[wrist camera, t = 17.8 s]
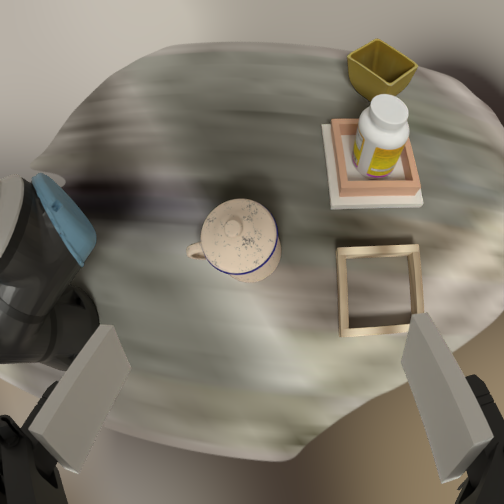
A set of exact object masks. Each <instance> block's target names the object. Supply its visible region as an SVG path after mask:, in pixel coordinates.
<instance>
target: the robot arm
mask: <svg viewBox="0 0 504 504" xmlns="http://www.w3.org/2000/svg"><path fill="white" fill-rule="evenodd" d="M95 244H96V233H95V230H94V228H93V226H92V224H91V223H90V221H89V220H88V219H87V217H86V216H85V215H84V213H83V212H82V211H81V210H80V208H79V207H78V206H77V205H76V204H75V203H74V201H73V200H72V199H71V198H70V197H69V196H68V195H67V194H66V193H65V192H64V190H63V189H62V188H61V187H60V186H58V185H57V184H56V183H55V182H54V181H53V180H52V179H51V178H50V177H48V176H47V175H44V174H43V173H38V174H37V175H36V176H34V177H32V181H31V183H30V182H28V181H26V180H25V179H23V178H21V177H20V176H18V175H17V174H14V175H10V176H8V177H6V178H3V179H0V364H14V363H36V362H40V363H42V364H45V365H47V366H50V367H53V368H55V369H58V370H62V371H66V372H65V374H64V375H63V377H62V378H61V380H60V381H56V382H54V383H53V384H52V385H51V386H49V387H48V388H47V390H46V391H45V393H44V394H43V396H42V398H40V400H39V402H38V405H36V406H35V407H34V409H33V411H32V412H31V413H30V415H29V417H28V418H27V420H26V421H25V423H24V424H23V426H22V427H21V428H19V426H18V425H17V424H16V423H15V422H14V420H13V419H12V418H11V417H10V416H8V415H1V416H0V504H68V502H67V498H66V495H65V492H64V489H63V485H62V481H61V478H60V474H59V471H58V469H57V467H56V464H57V462H59V463H60V464H61V465H62V466H63V467H64V468H65V469H67V470H69V471H72V472H74V473H77V474H80V471H81V469H82V467H83V465H84V463H85V460H86V458H87V456H88V454H89V452H90V450H91V448H92V446H93V444H94V441H95V439H96V437H97V435H98V433H99V431H100V429H101V427H102V425H103V423H104V421H105V419H106V417H107V415H108V413H109V411H110V409H111V407H112V405H113V403H114V401H115V399H116V397H117V395H118V393H119V391H120V389H121V387H122V385H123V384H124V382H125V380H126V378H127V376H128V374H129V372H130V370H131V366H130V364H129V362H128V360H127V357H126V355H125V353H124V350H123V348H122V346H121V343H120V341H119V338H118V336H117V333H116V331H115V328H114V326H113V325H100V326H99V320H98V315H97V312H96V309H95V306H94V304H93V302H92V301H91V299H90V297H89V296H88V295H87V294H86V293H85V292H84V291H83V290H82V289H80V288H78V287H76V286H72V285H69V283H70V282H71V280H72V279H73V278H74V276H75V275H76V274H77V272H78V271H79V270H80V268H81V267H83V266H84V262H85V260H86V259H87V257H88V256H89V254H90V253H91V251H92V250H93V248H94V247H95ZM401 364H402V366H403V369H404V371H405V374H406V377H407V379H408V382H409V385H410V387H411V390H412V393H413V395H414V398H415V401H416V404H417V407H418V409H419V413H420V415H421V418H422V421H423V424H424V427H425V430H426V434H427V437H428V440H429V443H430V446H431V450H432V453H433V456H434V460H435V463H436V466H437V470H438V474H439V478H440V481H441V484H442V483H445V482H448V481H451V480H454V479H457V478H459V477H460V476H461V475H462V474H463V473H464V472H465V471H467V474H468V478H467V479H466V480H465V481H464V482H463V483H462V484H461V485H460V486H459V488H458V489H457V490H460V489H461V488H462V487H463V488H462V490H461V492H460V494H459V496H458V498H457V500H456V502H455V504H504V419H503V417H502V415H501V413H500V412H499V409H498V407H497V405H496V403H494V400H493V398H492V396H491V395H490V392H489V390H488V389H487V387H486V385H485V383H484V382H483V381H482V380H481V379H480V378H479V377H477V376H476V375H470V376H467V377H465V376H464V374H463V372H462V371H461V369H460V367H459V365H458V363H457V362H456V360H455V358H454V356H453V355H452V353H451V351H450V349H449V347H448V346H447V344H446V342H445V340H444V339H443V337H442V335H441V334H440V332H439V330H438V329H437V327H436V325H435V324H434V322H433V321H432V319H431V317H430V316H429V314H428V313H420V314H412V316H411V321H410V326H409V330H408V335H407V339H406V344H405V348H404V352H403V356H402V360H401Z"/></svg>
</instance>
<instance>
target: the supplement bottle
mask: <svg viewBox="0 0 504 504" xmlns="http://www.w3.org/2000/svg"><path fill="white" fill-rule="evenodd" d="M407 119H408V109H407V107H406V105H405V104H404V103H403V101H401V100H400V99H399V98H397V97H395V96H392V95H389V94H380V95H377V96H375V97H374V98H373V99H372V101H371V104H370V106H369V107H367V108H366V109H365V110H364V111H363V112H362V113H361V115H360V118H359V122H358V128H357V133H356V137H355V142H354V147H353V152H352V161H353V164H354V166H355V168H356V170H357V171H358V172H359V173H360V174H362V175H363V176H365V177H367V178H370V179H375V180H378V179H383V178H385V177H387V176H389V175H390V174H391V173H392V171H393V169H394V167H395V165H396V163H397V161H398V159H399V157H400V155H401V152H402V150H403V148H404V146H405V144H406V142H407V139H408V136H409V125H408V123H407Z"/></svg>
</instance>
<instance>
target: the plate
mask: <svg viewBox="0 0 504 504" xmlns="http://www.w3.org/2000/svg"><path fill="white" fill-rule="evenodd" d="M358 122H359V119H331V124H322V137H323V144H324V152H325V160H326V168H327V177H328V187H329V197H330V207H331V209H359V208H404V207H421V206H422V205H423V198H422V193H421V185H420V181H419V176H418V172H417V167H416V163H415V159H414V155H413V151H412V147H411V143H410V140H409V136H408V139H407V142H406V144H405V146H404V148H403V150H402V152H401V155H400V157H399V159H398V161H397V163H396V165H395V167H394V169H393V171H392V173H391V174H390V175H389V176H387V177H385V178H383V179H378V180H375V179H370V178H367V177H365V176H363V175H362V174H360V173H359V172H358V171H357V170H356V168H355V166H354V164H353V161H352V152H353V147H354V142H355V137H356V133H357V128H358Z"/></svg>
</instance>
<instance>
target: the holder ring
mask: <svg viewBox="0 0 504 504" xmlns="http://www.w3.org/2000/svg"><path fill="white" fill-rule="evenodd" d="M394 256H407V257H408V268H409V280H410V294H411V315H412V314H420V313H424V299H423V284H422V272H421V262H420V253H419V244H413V245H389V246H365V247H341V248H337V250H336V265H337V285H338V314H339V337H352V336H367V335H380V334H391V333H402V332H408V330H409V326H410V324H401V325H390V326H378V327H364V328H349V320H348V290H347V270H346V259H351V258H373V257H394Z"/></svg>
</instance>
